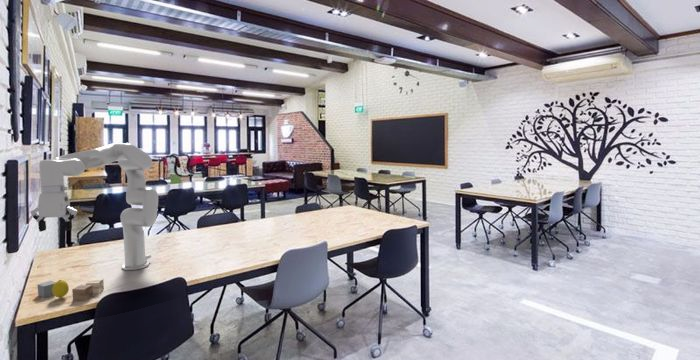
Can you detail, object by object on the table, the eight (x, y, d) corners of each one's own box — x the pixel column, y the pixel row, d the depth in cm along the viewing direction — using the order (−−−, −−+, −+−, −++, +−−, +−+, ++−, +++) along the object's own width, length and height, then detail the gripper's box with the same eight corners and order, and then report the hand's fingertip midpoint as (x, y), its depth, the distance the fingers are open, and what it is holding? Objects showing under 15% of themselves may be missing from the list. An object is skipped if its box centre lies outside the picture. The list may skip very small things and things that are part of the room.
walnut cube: (81, 295, 161) (81, 284, 161) (93, 296, 161) (92, 284, 161) (73, 300, 156) (72, 289, 156) (84, 301, 156) (84, 289, 156)
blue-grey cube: (51, 291, 166) (50, 280, 165) (57, 293, 164) (57, 282, 163) (38, 295, 161) (37, 284, 161) (44, 297, 159) (43, 286, 159)
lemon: (51, 298, 158) (49, 280, 157) (66, 294, 163) (65, 276, 162) (55, 302, 155) (53, 283, 154) (71, 297, 159) (69, 279, 158)
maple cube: (91, 290, 168) (90, 279, 167) (103, 289, 169) (103, 278, 168) (86, 294, 163) (85, 283, 162) (99, 293, 164) (98, 282, 164)
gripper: (80, 188, 159) (83, 228, 160) (36, 188, 156) (38, 228, 158) (70, 190, 151) (72, 232, 153) (22, 191, 149) (26, 233, 151)
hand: (55, 230), depth 155 cm, fingers open, 9 cm apart
